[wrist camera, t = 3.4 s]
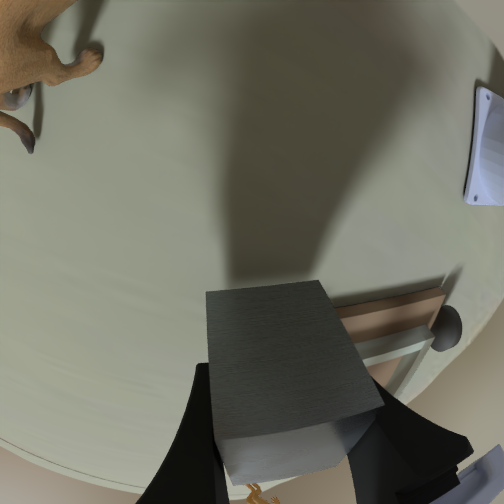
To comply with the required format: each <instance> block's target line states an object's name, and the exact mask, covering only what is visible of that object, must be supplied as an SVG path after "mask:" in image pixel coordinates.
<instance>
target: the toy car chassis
mask: <svg viewBox="0 0 504 504" xmlns="http://www.w3.org/2000/svg"><path fill="white" fill-rule="evenodd" d="M445 296H446V294H445V293H444V292H443V291H442V290H441V289H440V288H439V287H436V288H432V289H428V290H424V291H420V292H415V293H411V294H406V295H402V296H397V297H392V298H388V299H383V300H378V301H373V302H367V303H362V304H357V305H351V306H346V307H340V308H335V310H336V312H337V314H338V315H339V317H340V319H341V321H342V323H343V325H344V326H345V328H346V330H347V332H348V334H349V336H350V338H351V339H352V341H353V343H354V345H355V347H356V349H357V351H358V353H359V355H360V357H361V358H362V360H363V362H364V364H365V366H366V368H367V370H368V372H369V374H370V375H371V376H372V377H373V378H374V379H375V380H376V381H377V382H378V383H379V384H380V385H381V386H382V387H383V388H384V389H386V390H387V391H388V392H389V393H390V394H391V395H393V396H394V397H395V398H396V399H398V398H399V396H400V395H401V393H402V392H403V390H404V389H405V387H406V386H407V384H408V383H409V381H410V380H411V378H412V376H413V375H414V373H415V372H416V370H417V368H418V367H419V365H420V363H421V362H422V360H423V358H424V356H425V355H426V353H427V351H428V349H429V348H430V346H431V347H432V348H433V349H434V350H436V351H438V352H442V351H445V350H447V349H449V348H452V347H454V346H455V345H457V343H458V342H459V340H460V338H461V335H462V322H461V318H460V316H459V314H458V312H457V311H456V310H455V309H454V308H453V307H451V306H449V305H444V306H441V305H442V303H443V300H444V298H445Z"/></svg>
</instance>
